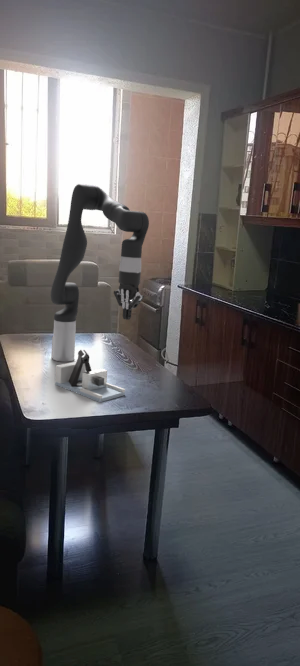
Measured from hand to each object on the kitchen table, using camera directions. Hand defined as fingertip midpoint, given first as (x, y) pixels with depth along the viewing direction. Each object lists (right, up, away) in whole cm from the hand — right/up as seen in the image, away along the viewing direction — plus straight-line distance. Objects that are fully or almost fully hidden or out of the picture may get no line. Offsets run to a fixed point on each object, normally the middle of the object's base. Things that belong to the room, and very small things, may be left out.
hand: (126, 319), depth 179 cm
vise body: (-14, -25, +3) cm, 29 cm away
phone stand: (-16, -23, +5) cm, 29 cm away
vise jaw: (-11, -24, 0) cm, 27 cm away
